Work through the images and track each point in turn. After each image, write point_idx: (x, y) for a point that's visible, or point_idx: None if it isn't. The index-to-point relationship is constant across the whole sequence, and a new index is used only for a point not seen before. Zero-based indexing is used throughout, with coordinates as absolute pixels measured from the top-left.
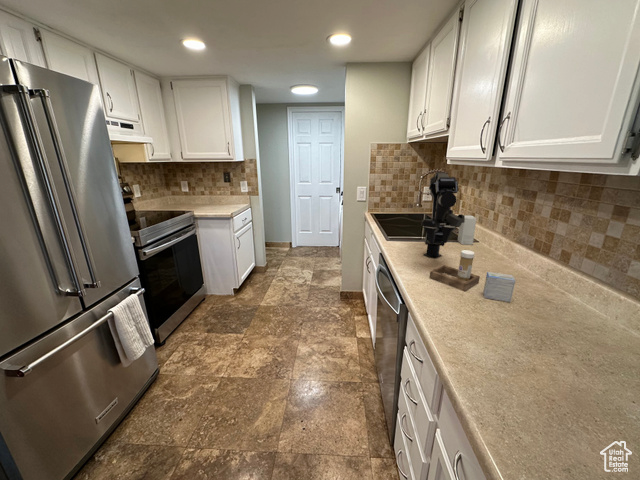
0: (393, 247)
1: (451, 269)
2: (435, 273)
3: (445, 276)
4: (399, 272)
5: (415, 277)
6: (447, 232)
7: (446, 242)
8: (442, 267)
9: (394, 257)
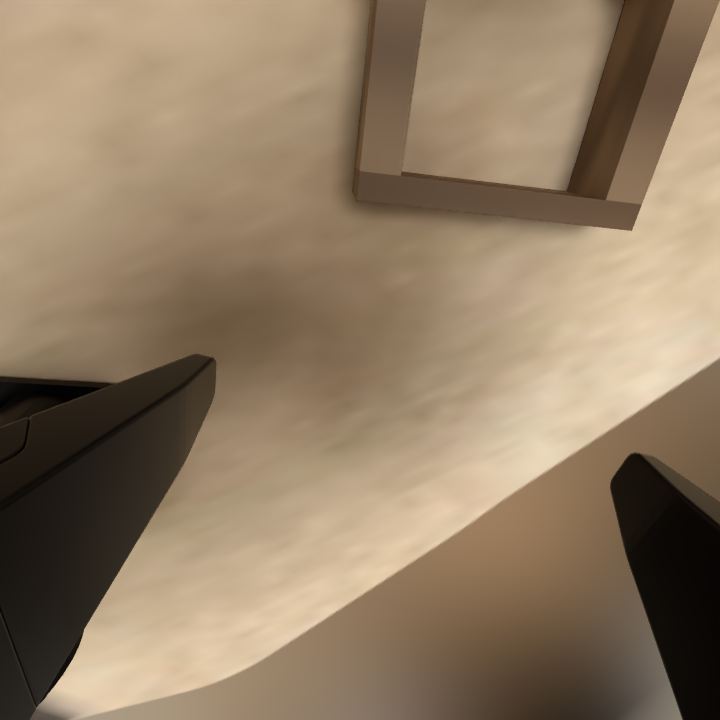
0: (184, 657)
1: (412, 79)
2: (653, 168)
3: (695, 36)
4: (601, 426)
5: (633, 308)
6: (26, 565)
7: (191, 355)
8: (444, 183)
9: (357, 570)
